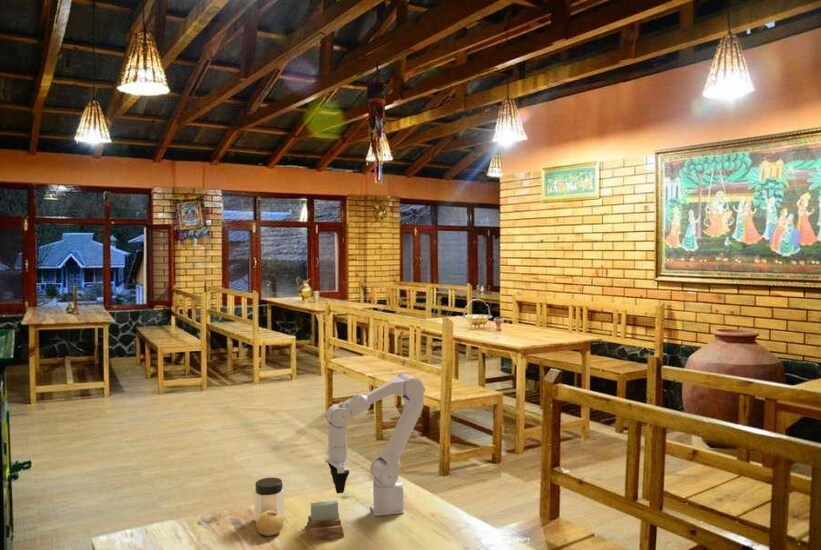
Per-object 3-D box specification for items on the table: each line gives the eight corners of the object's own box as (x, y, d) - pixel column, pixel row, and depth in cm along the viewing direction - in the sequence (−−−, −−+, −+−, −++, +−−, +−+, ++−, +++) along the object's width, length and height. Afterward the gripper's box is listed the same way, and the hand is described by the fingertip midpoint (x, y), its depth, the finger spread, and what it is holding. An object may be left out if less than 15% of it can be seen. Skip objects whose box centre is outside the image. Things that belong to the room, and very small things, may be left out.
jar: (288, 520, 200) (287, 482, 200) (264, 528, 195) (263, 489, 194) (274, 511, 207) (274, 474, 206) (251, 518, 202) (250, 481, 201)
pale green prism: (337, 521, 197) (337, 500, 197) (338, 524, 195) (338, 503, 194) (310, 524, 195) (310, 503, 195) (311, 527, 193) (311, 506, 193)
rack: (339, 521, 199) (339, 512, 199) (344, 536, 189) (343, 526, 189) (307, 525, 197) (306, 515, 197) (309, 540, 187) (309, 530, 187)
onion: (256, 540, 187) (256, 516, 187) (255, 529, 195) (255, 506, 195) (284, 537, 190) (284, 513, 189) (282, 525, 197) (282, 502, 197)
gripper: (322, 438, 206) (323, 480, 206) (327, 453, 192) (327, 498, 192) (344, 437, 207) (345, 478, 208) (350, 451, 193) (351, 496, 194)
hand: (338, 488), depth 200 cm, fingers open, 7 cm apart
